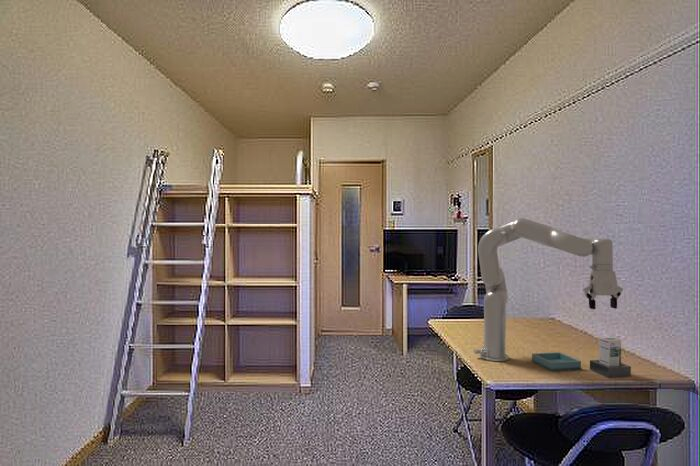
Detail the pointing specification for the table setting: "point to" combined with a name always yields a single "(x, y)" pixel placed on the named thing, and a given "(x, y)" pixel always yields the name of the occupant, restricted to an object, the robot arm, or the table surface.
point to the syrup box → (610, 351)
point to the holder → (610, 369)
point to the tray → (556, 361)
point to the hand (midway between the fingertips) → (603, 308)
